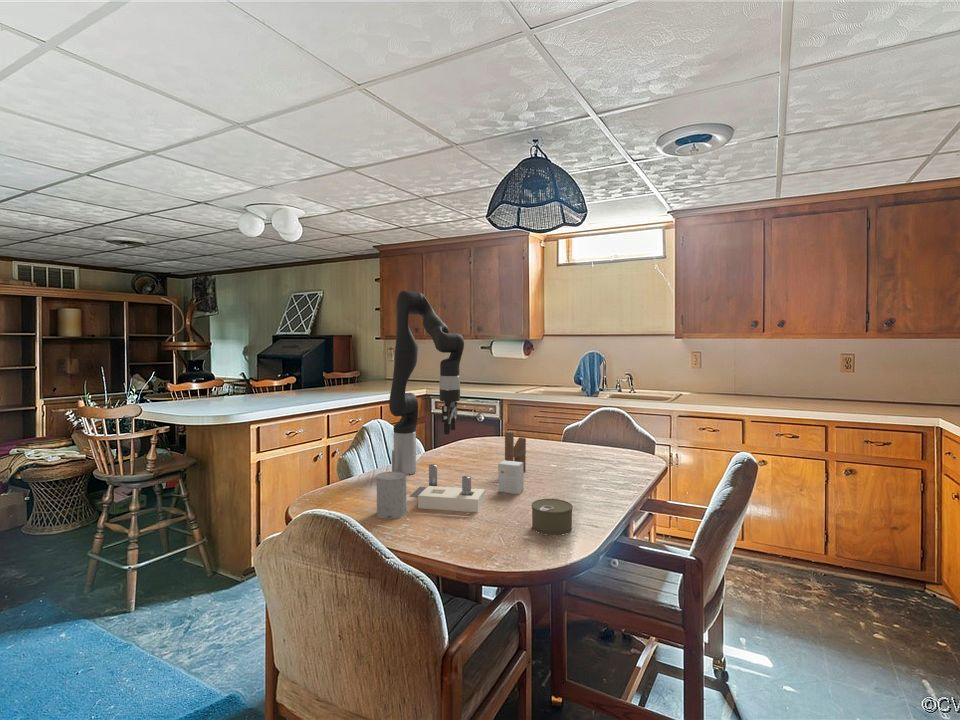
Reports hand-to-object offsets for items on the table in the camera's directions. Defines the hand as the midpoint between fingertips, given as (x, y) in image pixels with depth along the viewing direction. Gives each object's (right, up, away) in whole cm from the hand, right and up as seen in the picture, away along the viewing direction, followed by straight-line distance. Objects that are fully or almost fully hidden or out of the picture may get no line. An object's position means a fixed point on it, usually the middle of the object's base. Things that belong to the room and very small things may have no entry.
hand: (449, 432), depth 181 cm
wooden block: (+25, -21, +24) cm, 41 cm away
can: (+32, -23, -35) cm, 53 cm away
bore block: (+2, -22, -16) cm, 27 cm away
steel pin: (-6, -21, -3) cm, 22 cm away
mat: (-6, -22, -3) cm, 23 cm away
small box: (+22, -22, 0) cm, 31 cm away
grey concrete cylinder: (-17, -23, -23) cm, 37 cm away
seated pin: (+7, -22, -17) cm, 29 cm away
